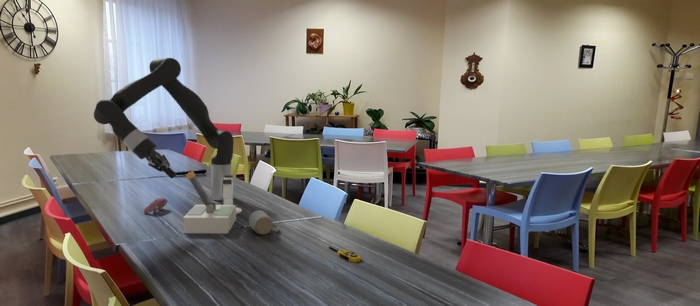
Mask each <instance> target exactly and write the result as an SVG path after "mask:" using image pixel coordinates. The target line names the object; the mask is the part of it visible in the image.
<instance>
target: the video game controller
mask: <svg viewBox="0 0 700 306" xmlns="http://www.w3.org/2000/svg"><path fill="white" fill-rule="evenodd" d="M168 202H169V201H168V200H167V198H163V197H159V198H156V199H154V200H153V201H152V202H150V203H149V205H148V206H146V207H145V208H144V210H143V213H144V214H145V215H146V214H150V213H151V212H152V213H157V212H158V211H162V210H163V209H164V207H165V206H166V205H167V204H168Z"/></svg>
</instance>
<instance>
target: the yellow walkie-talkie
mask: <svg viewBox="0 0 700 306" xmlns="http://www.w3.org/2000/svg"><path fill="white" fill-rule="evenodd" d="M328 249H330V250H332V251H335V252H336V251H337V252H336V253H337V254H338V255H339V256H340V257H341V258H340V257H339V256H338V255H337V256H338V257H339V258H340V259H342V258H343V259H342V260H344V259H345V261H347V260H348V261H347V262H350V261H352V262H351V263H354V262H355V263H358V262H357V261H359V262H361V261H362V257H361V256H360V255H359V254H358V253H356V252H353V251H350V250H348V249H340V250H338V249H336V248H334V247H332V246H328ZM360 260H361V261H360Z"/></svg>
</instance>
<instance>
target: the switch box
mask: <svg viewBox="0 0 700 306" xmlns="http://www.w3.org/2000/svg"><path fill="white" fill-rule="evenodd" d="M210 201H211V203H212V204H213V205H206V206H205V204H195V205H194V206H193V207H192V208H191V209H190V210H189V211H188V212H187V213H186V214H185V215H184V216H183V221H182V222H183V224H182V225H183V234H229V232H230V231H231V229H232V227H233V226H234V224H235V222H236V220H237V214H236V207H237V204H233V205H223V204H217V200H213V201H212V200H210ZM213 206H214V208H213Z"/></svg>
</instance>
